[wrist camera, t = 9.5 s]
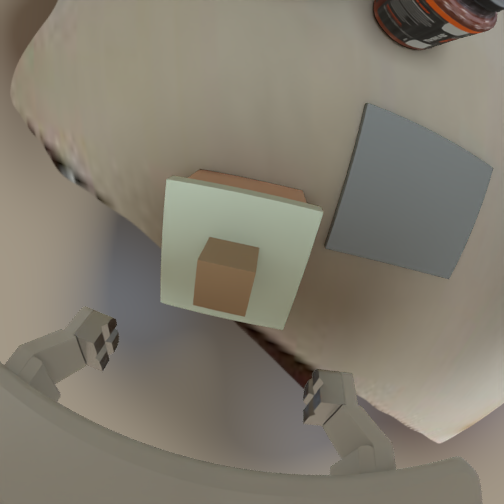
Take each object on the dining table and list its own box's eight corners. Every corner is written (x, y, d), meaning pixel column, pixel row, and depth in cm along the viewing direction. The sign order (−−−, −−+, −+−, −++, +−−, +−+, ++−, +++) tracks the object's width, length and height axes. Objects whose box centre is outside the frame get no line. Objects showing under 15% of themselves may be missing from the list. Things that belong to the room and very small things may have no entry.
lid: (320, 206, 16) (332, 232, 12) (282, 320, 20) (282, 359, 17) (172, 175, 16) (145, 192, 12) (165, 294, 20) (146, 327, 16)
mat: (489, 166, 17) (493, 168, 16) (446, 276, 23) (449, 279, 22) (365, 103, 17) (368, 103, 16) (324, 245, 22) (325, 248, 22)
